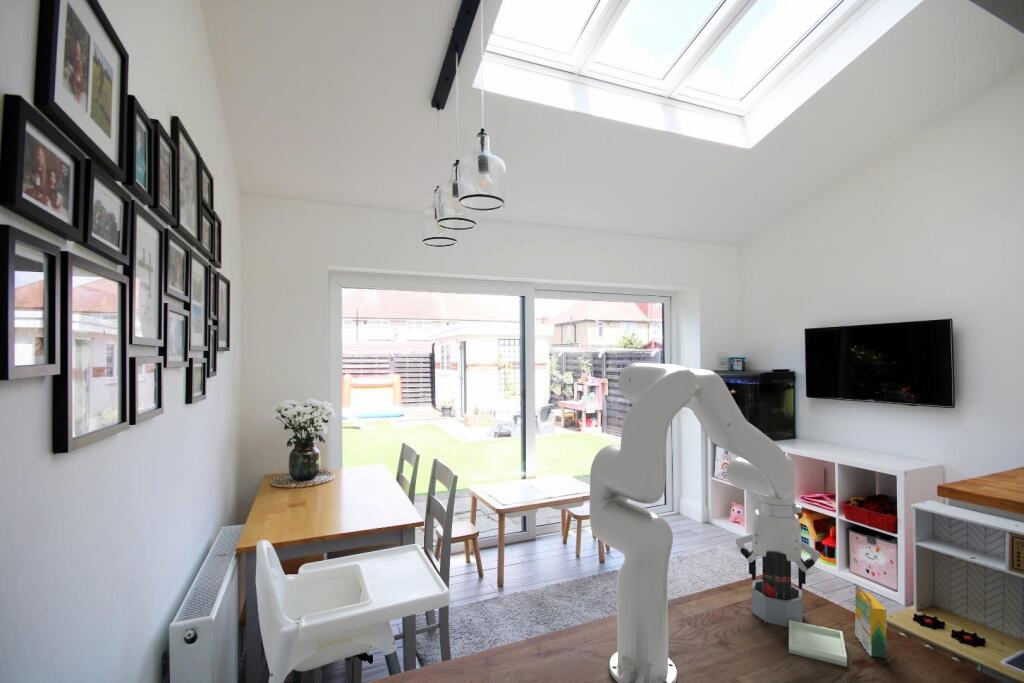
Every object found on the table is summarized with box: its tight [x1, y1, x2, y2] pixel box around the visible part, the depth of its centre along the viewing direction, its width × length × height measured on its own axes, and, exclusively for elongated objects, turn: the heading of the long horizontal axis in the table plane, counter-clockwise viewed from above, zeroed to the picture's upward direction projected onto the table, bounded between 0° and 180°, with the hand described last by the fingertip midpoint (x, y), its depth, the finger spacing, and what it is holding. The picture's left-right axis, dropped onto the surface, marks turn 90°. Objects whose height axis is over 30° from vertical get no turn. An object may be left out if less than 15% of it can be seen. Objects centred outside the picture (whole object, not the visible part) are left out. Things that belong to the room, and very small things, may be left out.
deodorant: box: [761, 551, 792, 601], centre depth 122 cm, size 6×6×15 cm
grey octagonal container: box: [751, 578, 804, 628], centre depth 122 cm, size 10×10×6 cm
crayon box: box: [854, 582, 887, 658], centre depth 109 cm, size 7×3×12 cm, turn 168°
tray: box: [788, 620, 848, 667], centre depth 109 cm, size 10×10×2 cm
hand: (776, 581), depth 122 cm, fingers open, 9 cm apart
